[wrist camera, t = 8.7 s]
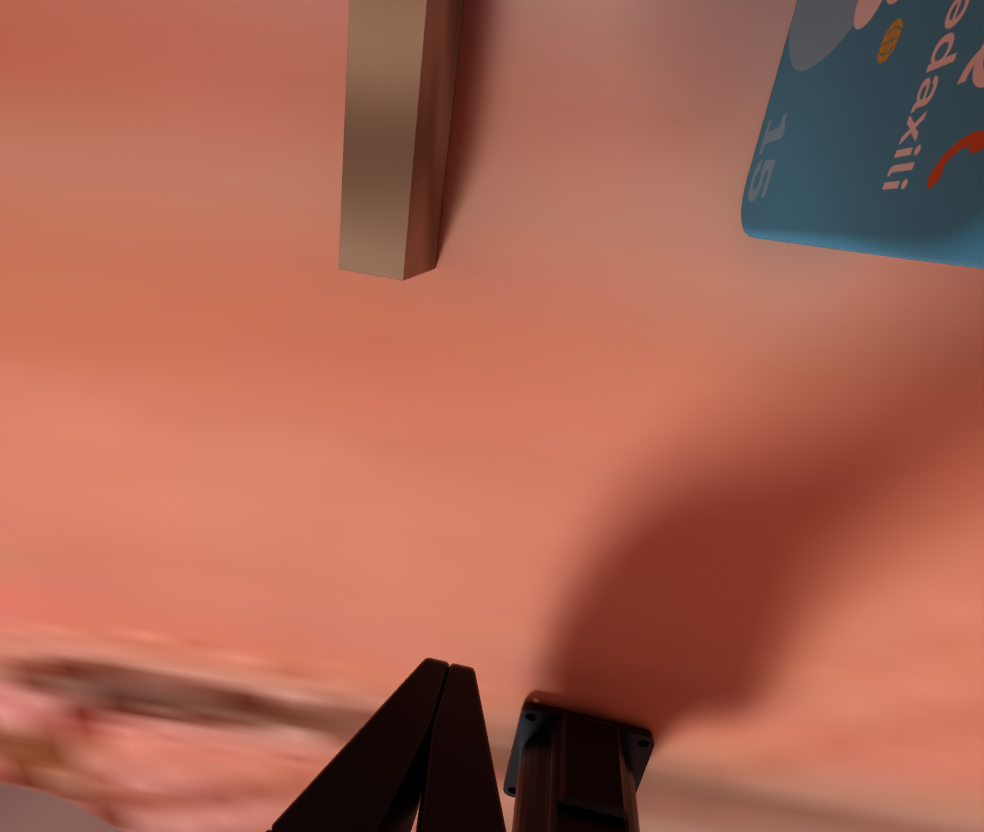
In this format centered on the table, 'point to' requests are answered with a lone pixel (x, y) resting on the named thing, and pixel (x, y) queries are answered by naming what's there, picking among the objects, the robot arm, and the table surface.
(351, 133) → the brown angled bar
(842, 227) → the data package
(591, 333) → the table surface
